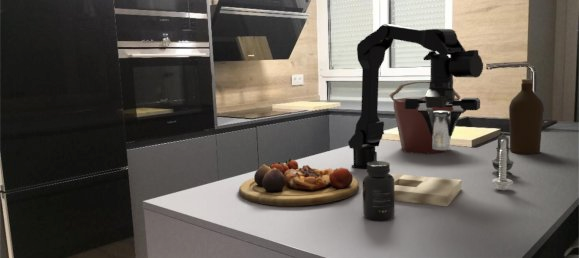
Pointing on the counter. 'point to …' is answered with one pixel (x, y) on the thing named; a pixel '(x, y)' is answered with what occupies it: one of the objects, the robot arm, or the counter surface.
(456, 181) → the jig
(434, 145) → the grey cylindrical piece
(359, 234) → the counter surface
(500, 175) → the screw
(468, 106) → the robot arm
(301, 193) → the wooden plate with food
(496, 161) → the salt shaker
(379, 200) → the supplement bottle
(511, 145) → the olive oil
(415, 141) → the bucket
